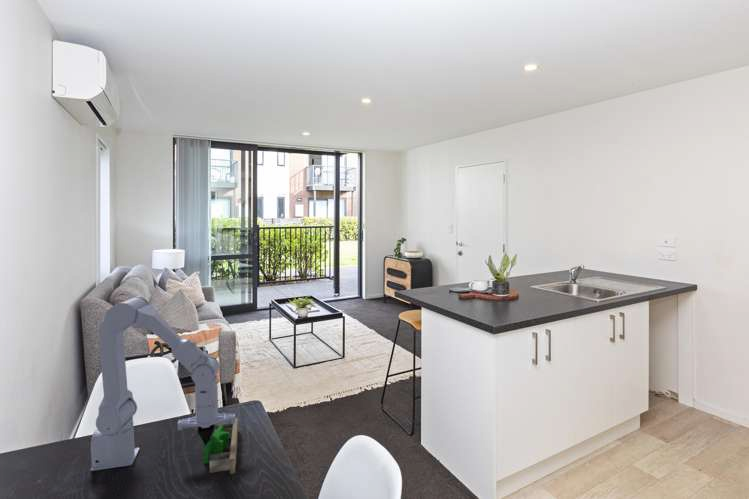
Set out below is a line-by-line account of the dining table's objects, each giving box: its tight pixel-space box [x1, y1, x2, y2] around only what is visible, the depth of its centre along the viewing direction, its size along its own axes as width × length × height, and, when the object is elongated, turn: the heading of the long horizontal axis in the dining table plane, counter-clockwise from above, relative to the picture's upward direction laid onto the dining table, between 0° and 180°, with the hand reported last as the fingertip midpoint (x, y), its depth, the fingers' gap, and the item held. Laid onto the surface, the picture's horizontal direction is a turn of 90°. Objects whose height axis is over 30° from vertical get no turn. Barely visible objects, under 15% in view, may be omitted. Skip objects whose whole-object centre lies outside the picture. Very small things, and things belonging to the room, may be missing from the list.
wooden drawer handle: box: [208, 417, 239, 475], centre depth 114 cm, size 6×22×4 cm, turn 16°
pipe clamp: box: [202, 426, 230, 464], centre depth 114 cm, size 11×4×5 cm, turn 1°
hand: (207, 450), depth 113 cm, fingers closed, pressing on pipe clamp
